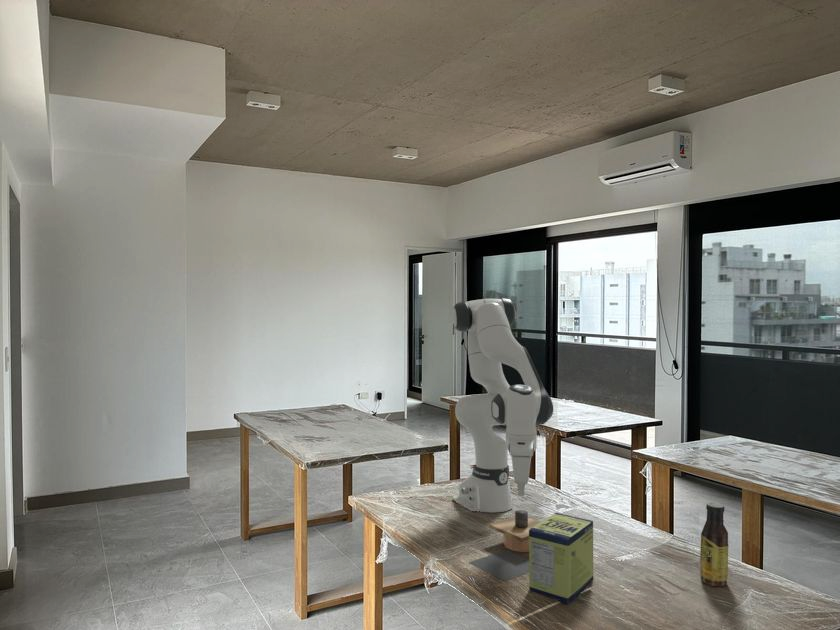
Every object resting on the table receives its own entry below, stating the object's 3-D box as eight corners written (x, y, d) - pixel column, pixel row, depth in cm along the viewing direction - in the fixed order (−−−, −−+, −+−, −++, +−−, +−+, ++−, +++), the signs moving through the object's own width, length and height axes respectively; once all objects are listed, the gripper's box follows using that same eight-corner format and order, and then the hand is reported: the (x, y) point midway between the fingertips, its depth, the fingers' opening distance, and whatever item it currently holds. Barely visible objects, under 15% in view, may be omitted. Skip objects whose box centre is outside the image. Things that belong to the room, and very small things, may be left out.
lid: (489, 527, 178) (489, 510, 178) (521, 518, 185) (521, 501, 185) (521, 541, 167) (521, 523, 167) (554, 530, 175) (554, 513, 175)
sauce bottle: (695, 576, 156) (695, 499, 156) (720, 576, 156) (720, 499, 156) (707, 588, 150) (707, 508, 149) (733, 588, 150) (733, 508, 149)
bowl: (496, 545, 178) (496, 528, 177) (521, 537, 183) (521, 520, 183) (521, 556, 169) (521, 538, 169) (546, 547, 175) (546, 530, 175)
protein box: (594, 581, 154) (594, 519, 154) (568, 605, 142) (568, 539, 142) (555, 570, 161) (555, 511, 161) (528, 592, 149) (527, 529, 148)
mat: (468, 564, 165) (468, 562, 165) (506, 551, 173) (506, 549, 173) (505, 583, 153) (505, 581, 153) (543, 568, 162) (543, 566, 162)
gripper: (510, 433, 187) (510, 477, 187) (509, 451, 166) (509, 501, 167) (531, 433, 186) (531, 478, 186) (533, 452, 165) (532, 502, 166)
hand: (520, 489), depth 176 cm, fingers open, 8 cm apart
